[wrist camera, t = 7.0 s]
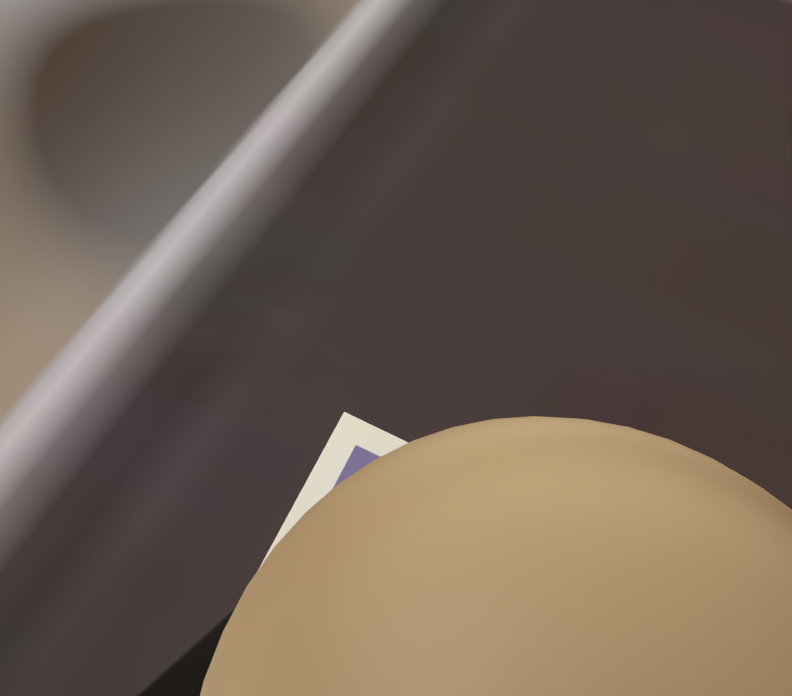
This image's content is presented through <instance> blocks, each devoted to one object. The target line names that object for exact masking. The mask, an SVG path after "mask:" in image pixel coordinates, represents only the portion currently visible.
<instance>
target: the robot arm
mask: <svg viewBox="0 0 792 696" xmlns="http://www.w3.org/2000/svg"><path fill="white" fill-rule="evenodd" d="M234 610H235V609H234ZM234 610H233V611H231V612H230V613H229V614H228V615H227V616H226V617H225V618H224V619H222V620H221V621H220V622H219V623H218V624H217V625H216V626H214V627H213V628H212V629H211V630H210V631H209V632H208V633H206V634H205V635H204V636H203V637H202V638H201V639H200V640H199V641H197V642H196V643H195V644H194V645H193V646H192V647H191V648H189V649H188V650H187V651H186V652H185V653H184V654H183V655H182V656H180V657H179V658H178V659H177V660H176V661H175V662H174V663H172V664H171V665H170V666H169V667H168V668H167V669H166V670H164V671H163V672H162V673H161V674H160V675H159V676H158V677H157V678H155V679H154V680H153V681H152V682H151V683H150V684H149V685H147V686H146V687H145V688H144V689H143V690H142V691H141V692H139V693H138V694H137V695H136V696H200V693H201V689H202V686H203V682H204V679H205V676H206V674H207V671H208V669H209V666H210V663H211V661H212V658H213V656H214V653H215V651H216V648H217V646H218V643H219V640H220V638H221V635H222V633H223V630H224V629H225V627H226V625H227V623H228V621H229V619H230V617H231V615H232V614H233V612H234Z"/></svg>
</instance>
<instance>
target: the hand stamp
mask: <svg viewBox="0 0 792 696" xmlns="http://www.w3.org/2000/svg"><path fill="white" fill-rule="evenodd" d="M200 696H792V510H791V509H790V508H789V507H787V506H786V505H785V504H783V503H782V502H780V501H779V500H778V499H776V498H775V497H774V496H772V495H771V494H770V493H768V492H767V491H765V490H764V489H763V488H761V487H760V486H758V485H757V484H755V483H753V482H752V481H750V480H749V479H747V478H745V477H743V476H742V475H740V474H738V473H736V472H735V471H733V470H731V469H730V468H728V467H726V466H724V465H723V464H721V463H719V462H717V461H716V460H714V459H712V458H710V457H708V456H706V455H703V454H701V453H699V452H697V451H694V450H692V449H690V448H687V447H685V446H683V445H681V444H678V443H676V442H674V441H671V440H669V439H665V438H662V437H659V436H656V435H652V434H649V433H646V432H643V431H639V430H636V429H633V428H629V427H625V426H619V425H614V424H608V423H603V422H597V421H592V420H586V419H574V418H556V417H538V416H531V417H517V418H503V419H491V420H486V421H481V422H476V423H471V424H466V425H461V426H457V427H452V428H449V429H446V430H443V431H440V432H437V433H434V434H431V435H428V436H425V437H423V438H420V439H417V440H414V441H411V442H409V443H407V444H405V445H403V446H401V447H399V448H397V449H395V450H393V451H391V452H389V453H387V454H385V455H383V456H381V457H379V458H377V459H375V460H373V461H372V462H370V463H369V464H367V465H366V466H364V467H363V468H361V469H360V470H358V471H357V472H355V473H354V474H352V475H351V476H349V477H348V478H346V479H345V480H343V481H342V482H340V483H339V484H338V485H337V486H335V487H334V488H333V489H332V490H331V491H330V492H329V493H327V494H326V495H325V496H324V497H323V498H322V499H320V500H319V501H318V502H317V503H316V504H315V505H314V506H312V507H311V508H310V509H309V510H308V511H307V512H305V514H304V515H303V516H302V517H301V518H300V519H299V520H298V521H297V522H296V524H295V525H294V526H293V527H292V528H291V529H290V530H289V531H288V533H287V534H286V535H285V536H284V537H283V538H282V539H281V540H280V541H279V543H278V544H277V545H276V546H275V547H274V548H273V550H272V551H271V553H270V554H269V555H268V557H267V558H266V560H265V561H264V563H263V564H262V566H261V567H260V568H259V570H258V571H257V573H256V574H255V576H254V577H253V578H252V580H251V581H250V583H249V584H248V586H247V587H246V589H245V591H244V593H243V595H242V597H241V599H240V600H239V602H238V604H237V606H236V608H235V610H234V612H233V614H232V615H231V617H230V619H229V621H228V623H227V625H226V627H225V629H224V630H223V633H222V635H221V638H220V640H219V643H218V646H217V648H216V651H215V653H214V656H213V658H212V661H211V663H210V666H209V669H208V671H207V674H206V676H205V679H204V682H203V686H202V689H201V693H200Z"/></svg>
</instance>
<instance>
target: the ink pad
mask: <svg viewBox="0 0 792 696" xmlns="http://www.w3.org/2000/svg"><path fill="white" fill-rule="evenodd" d="M407 443H408V442H406V441H404V440H402V439H400V438H397V437H395V436H393V435H391V434H389V433H387V432H385V431H383V430H381V429H379V428H377V427H375V426H373V425H370V424H368V423H366V422H364V421H362V420H360V419H358V418H356V417H354V416H352V415H350V414H348V413H345V412H344V413H343V415H342V417H341V419H340V421H339V422H338V424H337V426H336V428H335V430H334V432H333V434H332V435H331V437H330V439H329V441H328V443H327V445H326V446H325V448H324V450H323V452H322V454H321V456H320V457H319V459H318V461H317V463H316V465H315V467H314V468H313V470H312V472H311V474H310V476H309V478H308V480H307V481H306V483H305V485H304V487H303V489H302V491H301V492H300V494H299V496H298V498H297V500H296V502H295V503H294V505H293V507H292V509H291V511H290V513H289V514H288V516H287V518H286V520H285V522H284V524H283V526H282V527H281V529H280V531H279V533H278V535H277V537H276V538H275V540H274V542H273V544H272V546H271V548H270V549H269V551H268V553H267V555H266V557H265V559H264V560H263V562H262V564H263V563H264V561H265V560H266V558H267V557H268V555H269V554H270V553H271V551H272V550H273V548H274V547H275V546H276V545H277V544H278V543H279V541H280V540H281V539H282V538H283V537H284V536H285V535H286V534H287V533H288V531H289V530H290V529H291V528H292V527H293V526H294V525H295V524H296V522H297V521H298V520H299V519H300V518H301V517H302V516H303V515H304V514H305V512H307V511H308V510H309V509H310V508H311V507H312V506H314V505H315V504H316V503H317V502H318V501H319V500H320V499H322V498H323V497H324V496H325V495H326V494H327V493H329V492H330V491H331V490H332V489H333V488H334V487H335V486H337V485H338V484H339V483H340V482H342V481H343V480H345V479H346V478H348V477H349V476H351V475H352V474H354V473H355V472H357V471H358V470H360V469H361V468H363V467H364V466H366V465H367V464H369V463H370V462H372V461H373V460H375V459H377V458H379V457H381V456H383V455H385V454H387V453H389V452H391V451H393V450H395V449H397V448H399V447H401V446H403V445H405V444H407ZM262 564H261V566H262ZM261 566H260V567H261Z"/></svg>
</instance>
